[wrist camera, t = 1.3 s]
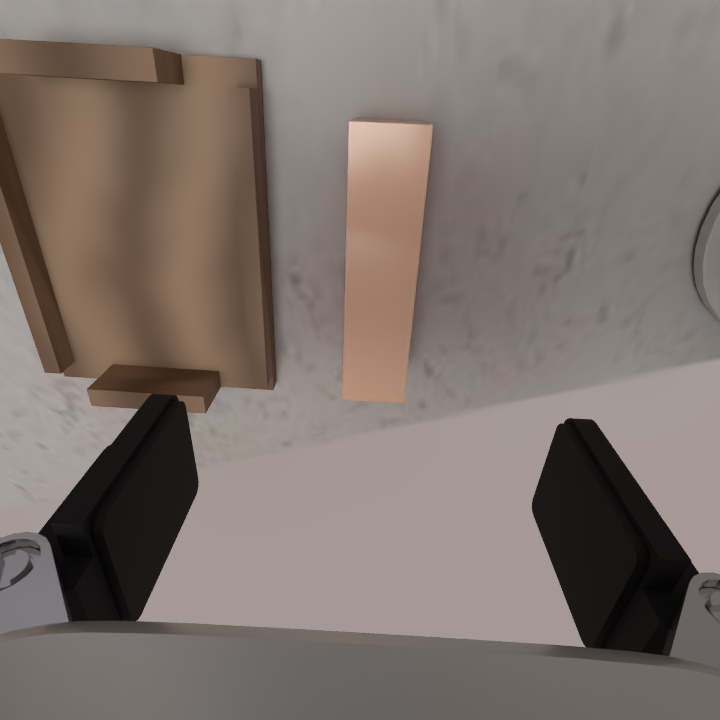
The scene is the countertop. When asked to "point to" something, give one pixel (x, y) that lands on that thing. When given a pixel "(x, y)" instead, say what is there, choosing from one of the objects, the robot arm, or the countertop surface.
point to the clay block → (382, 253)
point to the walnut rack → (138, 217)
